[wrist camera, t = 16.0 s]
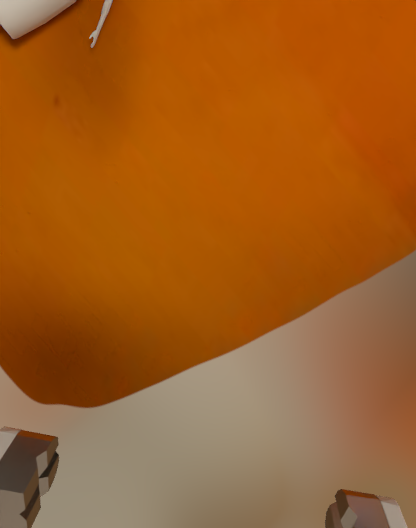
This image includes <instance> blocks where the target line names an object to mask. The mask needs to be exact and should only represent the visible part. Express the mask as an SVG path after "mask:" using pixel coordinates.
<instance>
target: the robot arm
mask: <svg viewBox="0 0 416 528" xmlns="http://www.w3.org/2000/svg"><path fill="white" fill-rule="evenodd" d="M57 446H58V437H55V436H50V435H44V434H40V433H34V432H29V431H24V430H20V429H15V428H8V427H3V428H2V429H1V430H0V528H31V527H32V525H33V523H34V521H35V518H36V516H37V514H38V512H39V510H40V508H41V505H40V497H41V496H42V495H44V494H45V493H46V492H48V491H49V489H50V487H51V485H52V483H53V480H54V478H55V474H56V471H57V468H58V462H59V455H58V454H57V452H56V451H55V450H56V448H57ZM335 498H336V502H335V503H333V504H331V505H330V506H329V508H328V510H327V512H326V520H325V527H326V528H407V526H406V523H405V521H404V518H403V515H402V513H401V510H400V508H399V505H398V503H397V502H396V501H395V499H392V498H389V497H382V496H377V495H374V494H368V493H362V492H356V491H350V490H344V489H340V490H338V491H337V493H336V495H335Z"/></svg>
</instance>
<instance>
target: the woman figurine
mask: <svg viewBox="0 0 416 528" xmlns="http://www.w3.org/2000/svg"><path fill="white" fill-rule="evenodd" d="M76 1H77V0H0V25H2V27H3V28H4V29H5V30H6V31H7V33H8V34H9V35H10V36H11V37H12V39H17V38H19V37H21V36H23V35H25V34H27V33H28V32H30V31H32V30H34V29H36V28H38V27H39V26H41V25H43V24H45V23H46V22H48V21H49V20H51V19H52V18H53V17H55V16H56V15H58V14H59V13H60V12H62V11H63V10H65V9H66V8H68V7H69V6H70V5H72V4H73V3H75V2H76ZM112 1H113V0H105V2H104V5H103V8H102V12H101V17H100V20H99V23H98V26H97V29H96V31H94V32H93V33H92V34H91V36H90V37H89V39H90V38H91V37H93V43H92V44H91V48H93V46H94V45H95V43H96V40H97V38H98V35H99V33H100V30H101V28H102V26H103V23H104V21H105V18H106V16H107V14H108V12H109V10H110V7H111V4H112Z"/></svg>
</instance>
